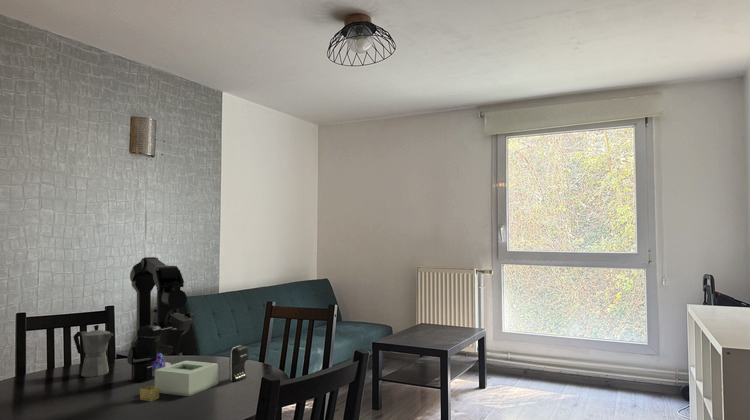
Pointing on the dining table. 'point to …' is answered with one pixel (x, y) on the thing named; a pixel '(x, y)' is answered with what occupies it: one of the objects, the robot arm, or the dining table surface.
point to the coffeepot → (94, 351)
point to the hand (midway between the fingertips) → (165, 354)
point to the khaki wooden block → (149, 393)
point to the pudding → (159, 362)
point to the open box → (186, 378)
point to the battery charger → (238, 362)
